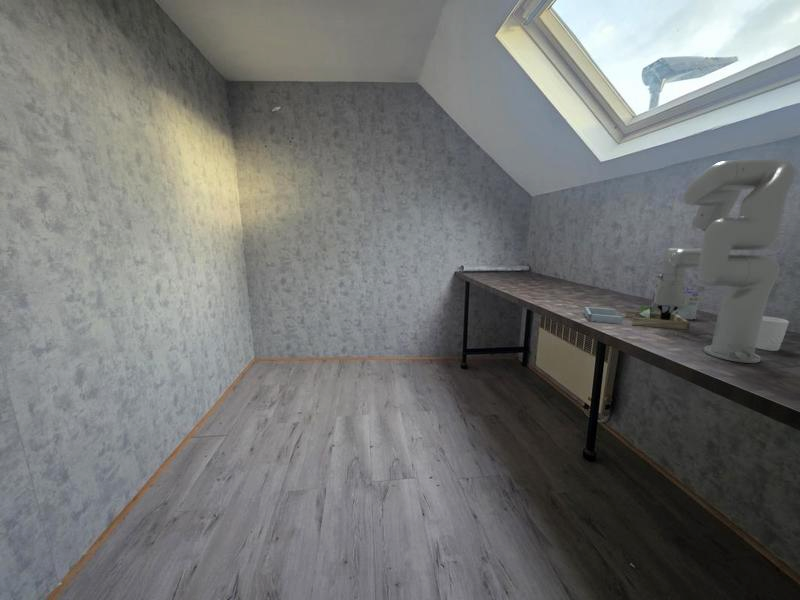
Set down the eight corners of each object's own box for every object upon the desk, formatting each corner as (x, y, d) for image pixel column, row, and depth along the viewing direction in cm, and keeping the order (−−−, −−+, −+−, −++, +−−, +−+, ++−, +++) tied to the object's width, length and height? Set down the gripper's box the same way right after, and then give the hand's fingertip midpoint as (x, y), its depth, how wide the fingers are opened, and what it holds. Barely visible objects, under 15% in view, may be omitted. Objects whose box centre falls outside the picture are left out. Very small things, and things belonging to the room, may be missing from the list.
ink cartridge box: (687, 316, 148) (693, 285, 145) (696, 320, 142) (702, 287, 139) (663, 315, 150) (668, 285, 147) (670, 319, 144) (676, 287, 141)
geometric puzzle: (632, 313, 145) (638, 302, 140) (650, 314, 143) (657, 303, 137) (635, 326, 141) (641, 315, 135) (654, 327, 139) (661, 316, 133)
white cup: (760, 351, 106) (767, 321, 104) (740, 342, 114) (746, 315, 112) (789, 352, 105) (796, 322, 103) (766, 344, 112) (773, 316, 110)
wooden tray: (688, 330, 128) (690, 322, 128) (632, 324, 136) (633, 317, 135) (675, 320, 141) (676, 314, 141) (624, 316, 149) (625, 310, 148)
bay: (621, 324, 137) (622, 317, 136) (588, 320, 142) (588, 314, 141) (614, 315, 151) (615, 309, 150) (584, 312, 156) (584, 306, 155)
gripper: (652, 278, 133) (645, 321, 137) (699, 280, 127) (690, 325, 131) (647, 276, 139) (641, 317, 143) (691, 278, 133) (683, 320, 137)
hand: (664, 321), depth 137 cm, fingers closed
